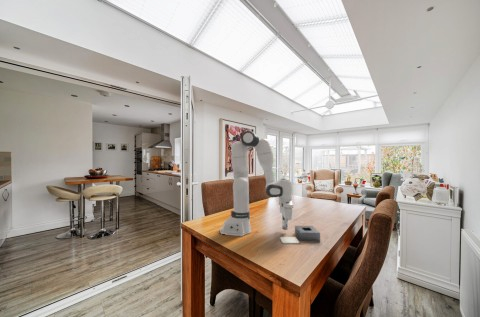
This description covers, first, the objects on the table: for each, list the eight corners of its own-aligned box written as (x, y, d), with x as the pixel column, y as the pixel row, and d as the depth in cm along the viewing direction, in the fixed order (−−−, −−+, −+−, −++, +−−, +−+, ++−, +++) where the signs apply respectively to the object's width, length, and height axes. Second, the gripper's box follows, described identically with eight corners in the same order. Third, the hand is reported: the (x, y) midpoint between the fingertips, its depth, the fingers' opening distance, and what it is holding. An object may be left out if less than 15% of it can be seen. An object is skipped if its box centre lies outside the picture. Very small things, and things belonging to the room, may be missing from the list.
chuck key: (282, 229, 118) (283, 216, 118) (281, 227, 121) (281, 214, 122) (288, 229, 118) (288, 216, 118) (286, 227, 121) (287, 215, 122)
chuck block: (300, 240, 107) (300, 232, 107) (295, 233, 119) (294, 225, 119) (320, 240, 107) (320, 232, 107) (312, 233, 119) (312, 225, 119)
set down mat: (282, 243, 103) (282, 242, 104) (279, 237, 111) (279, 237, 112) (299, 243, 103) (299, 242, 103) (295, 238, 111) (295, 237, 111)
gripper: (277, 199, 131) (277, 217, 130) (283, 205, 110) (283, 227, 110) (286, 199, 130) (285, 217, 130) (293, 206, 110) (293, 228, 110)
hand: (284, 222), depth 120 cm, fingers closed on chuck key, 4 cm apart
